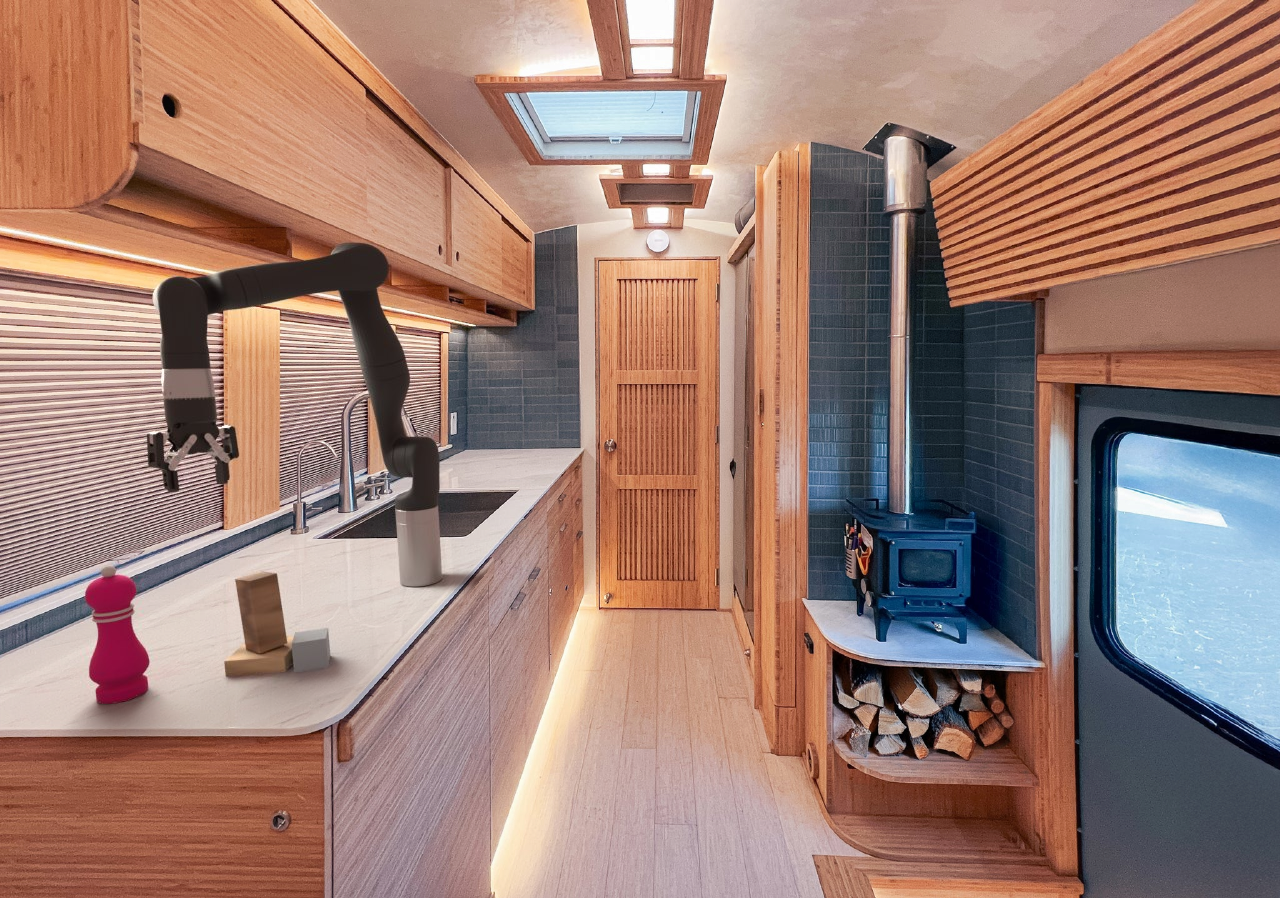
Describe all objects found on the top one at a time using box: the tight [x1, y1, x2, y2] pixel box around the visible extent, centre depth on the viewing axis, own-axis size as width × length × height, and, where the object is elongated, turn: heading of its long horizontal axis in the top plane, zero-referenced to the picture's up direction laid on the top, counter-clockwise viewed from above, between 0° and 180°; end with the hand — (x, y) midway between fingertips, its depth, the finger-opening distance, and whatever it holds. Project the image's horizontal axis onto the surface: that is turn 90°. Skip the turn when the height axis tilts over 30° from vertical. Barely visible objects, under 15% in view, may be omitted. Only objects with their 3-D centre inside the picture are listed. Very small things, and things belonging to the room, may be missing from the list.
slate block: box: [292, 627, 331, 674], centre depth 110 cm, size 5×5×5 cm
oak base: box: [223, 635, 294, 677], centre depth 112 cm, size 9×9×3 cm
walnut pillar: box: [234, 570, 287, 653], centre depth 111 cm, size 4×4×12 cm
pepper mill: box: [84, 565, 150, 705], centre depth 100 cm, size 7×7×20 cm
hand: (198, 487), depth 118 cm, fingers open, 8 cm apart
